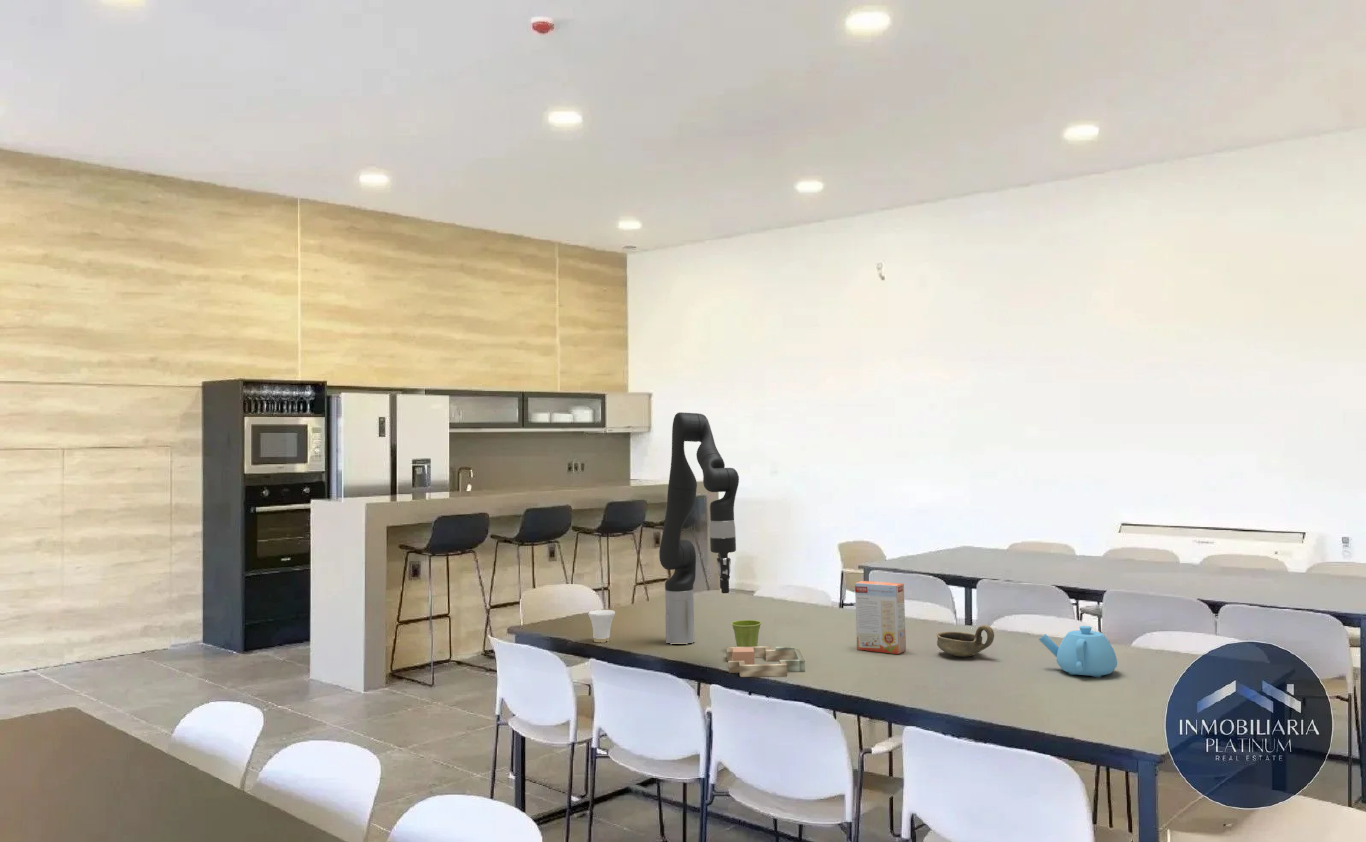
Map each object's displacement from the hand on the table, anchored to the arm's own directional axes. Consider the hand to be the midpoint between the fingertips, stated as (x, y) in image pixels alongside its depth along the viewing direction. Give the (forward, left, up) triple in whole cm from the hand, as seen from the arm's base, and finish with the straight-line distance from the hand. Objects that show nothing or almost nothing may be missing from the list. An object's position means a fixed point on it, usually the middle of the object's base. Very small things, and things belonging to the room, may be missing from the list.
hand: (724, 591), depth 288 cm
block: (+5, -3, -22) cm, 22 cm away
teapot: (+96, -17, -22) cm, 100 cm away
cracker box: (+48, +14, -22) cm, 54 cm away
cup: (-40, +36, -22) cm, 58 cm away
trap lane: (+10, -3, -21) cm, 24 cm away
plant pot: (+7, +18, -22) cm, 29 cm away
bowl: (+71, +4, -22) cm, 74 cm away
